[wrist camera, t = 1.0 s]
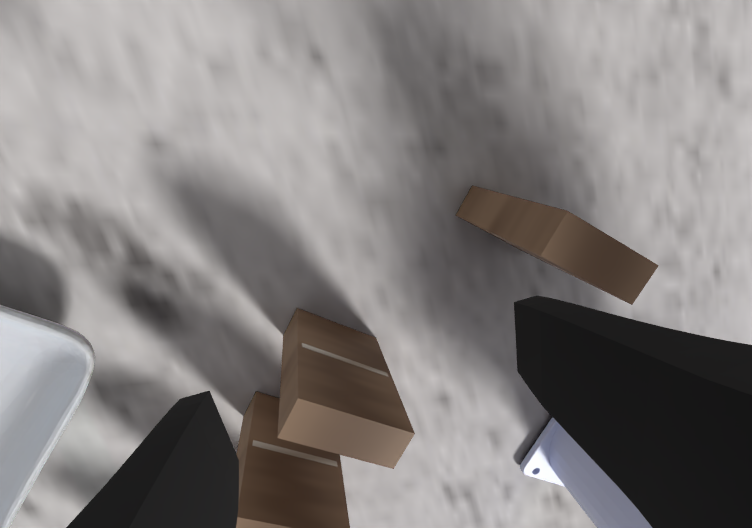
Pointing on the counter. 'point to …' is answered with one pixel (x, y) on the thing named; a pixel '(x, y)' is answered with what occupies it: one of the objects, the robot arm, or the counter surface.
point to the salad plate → (35, 397)
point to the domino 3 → (560, 241)
